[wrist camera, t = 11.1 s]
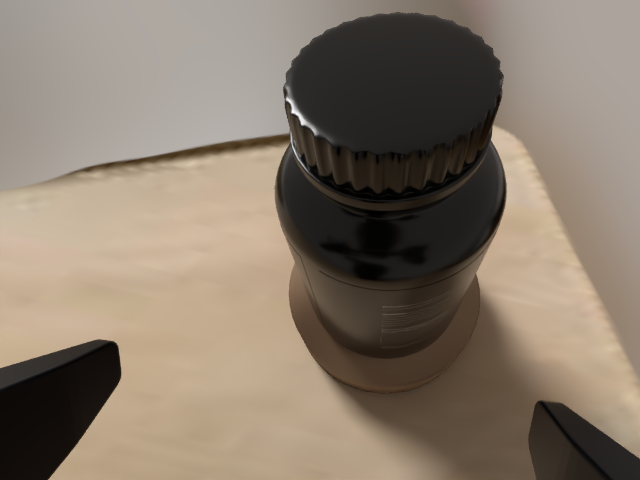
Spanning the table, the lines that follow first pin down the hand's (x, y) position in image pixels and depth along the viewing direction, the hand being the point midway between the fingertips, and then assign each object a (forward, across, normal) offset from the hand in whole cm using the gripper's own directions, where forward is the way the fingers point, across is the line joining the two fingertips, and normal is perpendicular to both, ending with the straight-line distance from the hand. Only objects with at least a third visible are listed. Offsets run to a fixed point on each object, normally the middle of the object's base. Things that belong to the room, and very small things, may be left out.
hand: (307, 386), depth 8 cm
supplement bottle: (+11, -1, +2) cm, 11 cm away
